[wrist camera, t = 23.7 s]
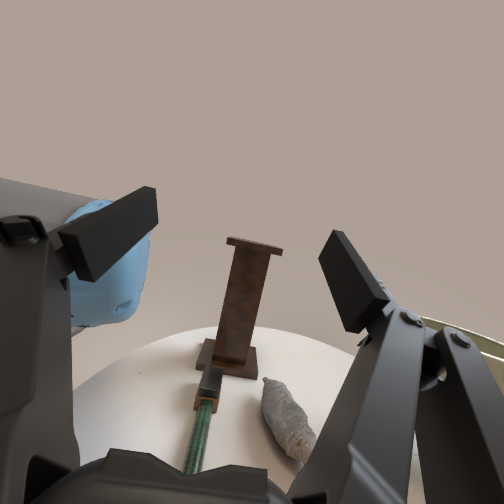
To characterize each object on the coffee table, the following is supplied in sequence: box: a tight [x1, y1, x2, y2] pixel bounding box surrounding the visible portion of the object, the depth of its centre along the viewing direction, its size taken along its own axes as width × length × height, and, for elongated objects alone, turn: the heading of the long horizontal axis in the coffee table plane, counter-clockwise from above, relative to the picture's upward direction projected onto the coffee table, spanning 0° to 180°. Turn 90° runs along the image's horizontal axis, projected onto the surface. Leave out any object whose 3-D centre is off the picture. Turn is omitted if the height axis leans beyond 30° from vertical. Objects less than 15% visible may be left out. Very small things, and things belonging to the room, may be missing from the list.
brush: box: [181, 365, 223, 475], centre depth 28 cm, size 21×4×4 cm, turn 3°
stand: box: [195, 237, 283, 380], centre depth 46 cm, size 14×10×30 cm
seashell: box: [262, 377, 316, 464], centre depth 32 cm, size 6×14×8 cm, turn 23°
